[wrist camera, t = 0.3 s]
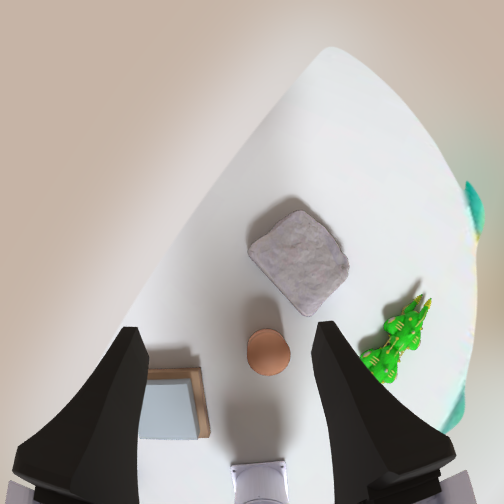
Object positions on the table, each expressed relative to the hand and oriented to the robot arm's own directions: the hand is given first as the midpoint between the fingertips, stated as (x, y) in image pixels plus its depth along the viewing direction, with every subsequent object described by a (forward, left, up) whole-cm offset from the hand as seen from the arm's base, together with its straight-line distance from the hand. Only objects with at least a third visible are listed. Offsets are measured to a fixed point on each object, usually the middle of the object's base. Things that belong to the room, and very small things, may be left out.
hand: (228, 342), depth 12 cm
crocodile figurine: (-9, -19, -29) cm, 36 cm away
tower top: (-13, +12, -26) cm, 32 cm away
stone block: (+5, -8, -29) cm, 30 cm away
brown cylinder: (-6, -2, -28) cm, 29 cm away
